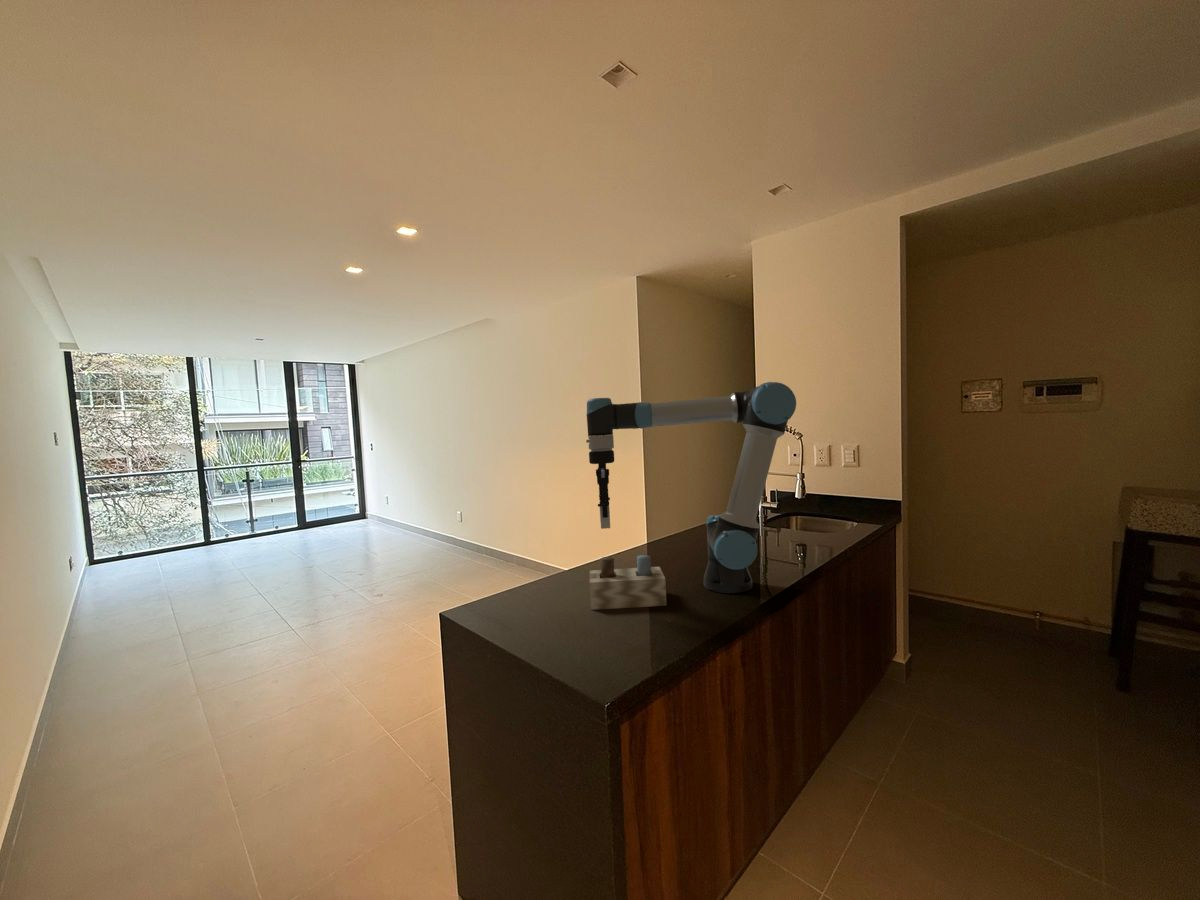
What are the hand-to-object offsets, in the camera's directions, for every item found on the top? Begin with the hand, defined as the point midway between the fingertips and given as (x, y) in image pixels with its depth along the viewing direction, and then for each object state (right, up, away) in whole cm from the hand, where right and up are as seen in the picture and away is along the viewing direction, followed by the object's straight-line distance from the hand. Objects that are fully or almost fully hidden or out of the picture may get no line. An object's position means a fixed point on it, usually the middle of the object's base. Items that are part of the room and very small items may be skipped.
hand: (605, 525), depth 143 cm
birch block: (+7, -23, +1) cm, 24 cm away
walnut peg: (+1, -18, +1) cm, 18 cm away
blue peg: (+12, -18, +1) cm, 21 cm away
